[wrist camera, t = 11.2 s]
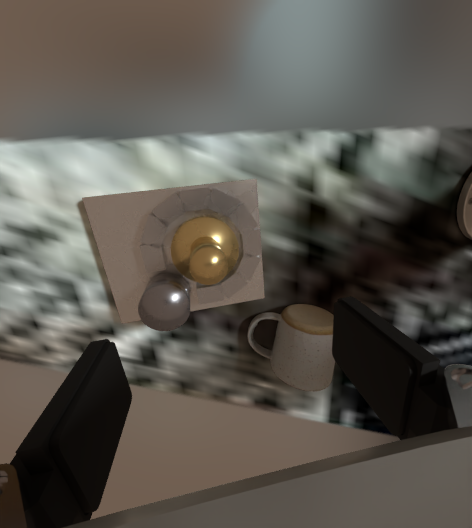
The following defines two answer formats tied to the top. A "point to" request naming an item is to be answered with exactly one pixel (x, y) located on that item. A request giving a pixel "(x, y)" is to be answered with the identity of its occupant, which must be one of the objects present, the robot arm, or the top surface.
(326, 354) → the ceramic mug
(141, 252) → the carrier
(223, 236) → the brass door knob
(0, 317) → the top surface
